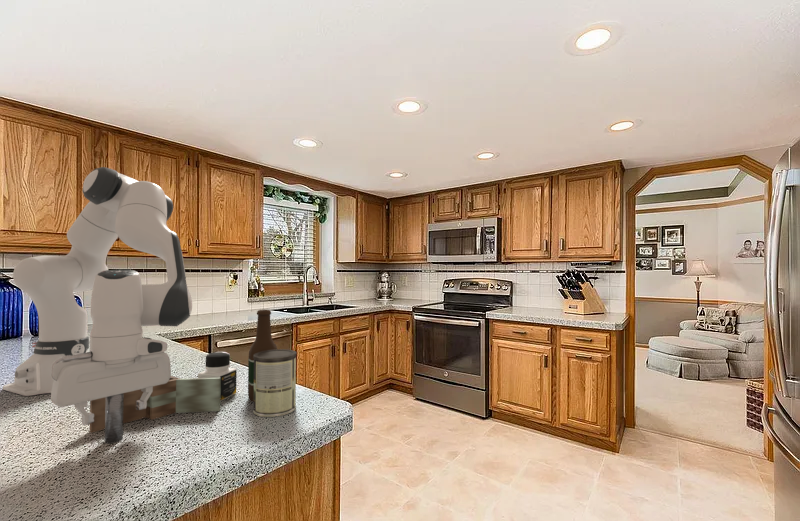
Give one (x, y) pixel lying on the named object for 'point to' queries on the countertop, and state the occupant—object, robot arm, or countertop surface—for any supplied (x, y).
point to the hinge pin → (114, 418)
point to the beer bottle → (259, 346)
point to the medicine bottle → (221, 372)
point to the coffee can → (274, 382)
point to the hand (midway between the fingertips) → (115, 415)
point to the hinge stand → (165, 400)
